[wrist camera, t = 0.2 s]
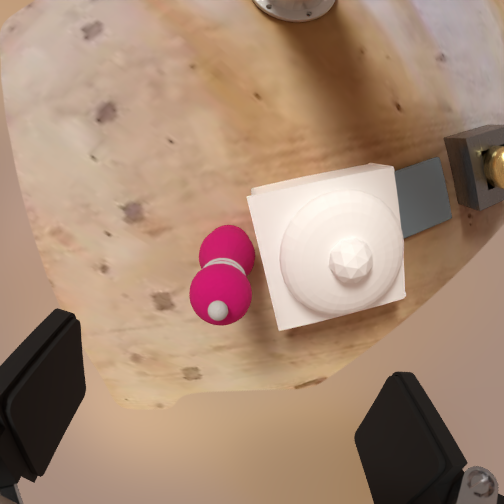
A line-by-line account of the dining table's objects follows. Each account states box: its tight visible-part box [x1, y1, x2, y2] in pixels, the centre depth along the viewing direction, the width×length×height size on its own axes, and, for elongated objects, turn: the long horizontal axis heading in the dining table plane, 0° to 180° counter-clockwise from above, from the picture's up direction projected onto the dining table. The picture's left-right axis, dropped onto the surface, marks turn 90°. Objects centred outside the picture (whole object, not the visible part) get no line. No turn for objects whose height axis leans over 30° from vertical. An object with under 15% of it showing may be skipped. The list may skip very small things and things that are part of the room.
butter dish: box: [247, 163, 406, 331], centre depth 38 cm, size 18×18×16 cm
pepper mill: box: [190, 225, 255, 325], centre depth 36 cm, size 7×7×20 cm
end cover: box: [481, 146, 504, 189], centre depth 37 cm, size 6×6×9 cm
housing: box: [444, 125, 504, 211], centre depth 39 cm, size 11×11×6 cm
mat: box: [394, 157, 452, 239], centre depth 43 cm, size 10×10×1 cm
